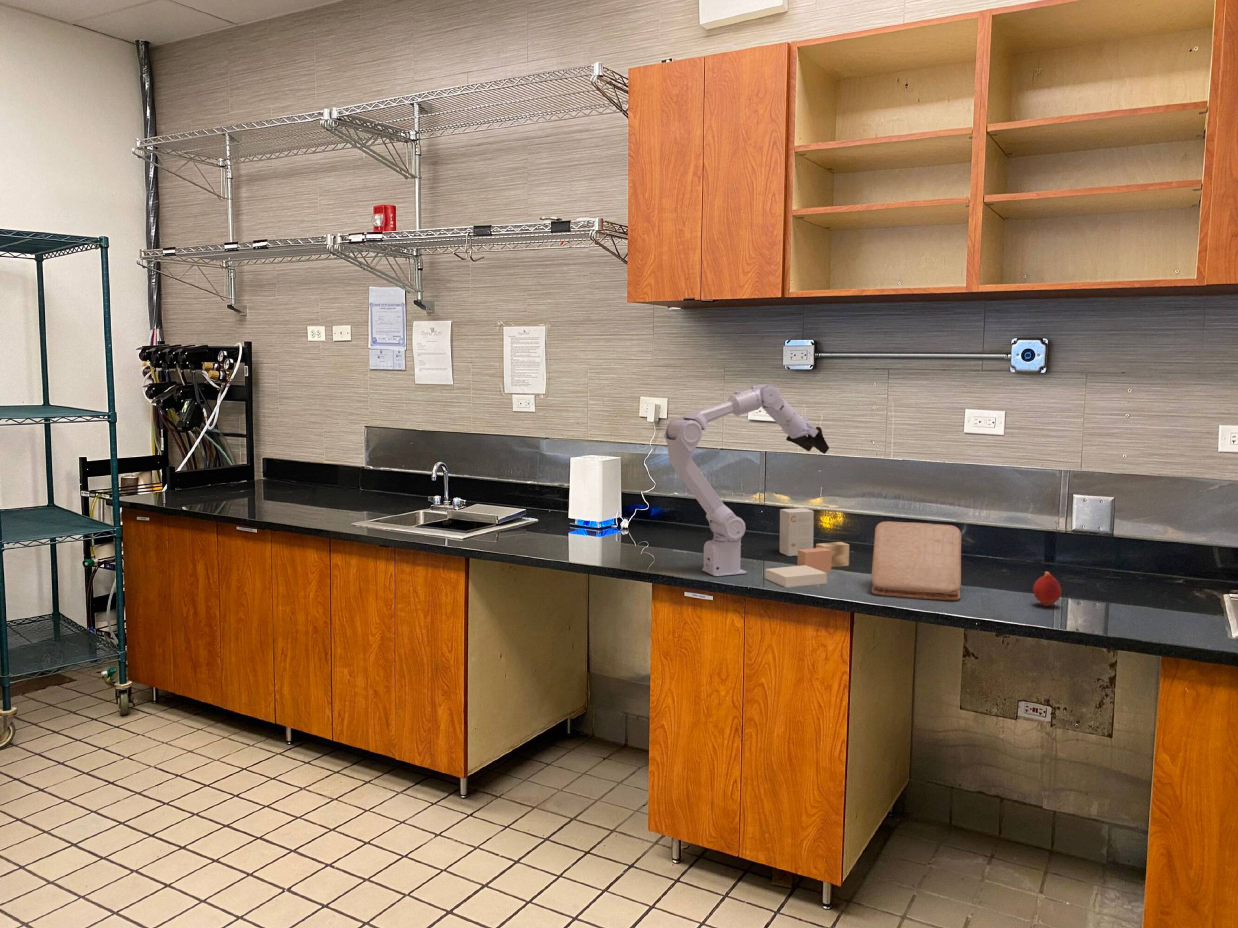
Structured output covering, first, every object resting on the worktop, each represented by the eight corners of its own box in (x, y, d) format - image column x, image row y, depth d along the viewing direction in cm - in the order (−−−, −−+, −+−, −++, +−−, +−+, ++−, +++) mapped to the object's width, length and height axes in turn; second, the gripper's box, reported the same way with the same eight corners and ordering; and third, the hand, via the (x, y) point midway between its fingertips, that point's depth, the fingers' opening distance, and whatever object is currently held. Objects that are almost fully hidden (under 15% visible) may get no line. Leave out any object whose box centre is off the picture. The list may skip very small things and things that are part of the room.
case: (869, 596, 214) (871, 530, 212) (875, 576, 233) (877, 516, 231) (960, 604, 207) (963, 536, 205) (959, 583, 226) (962, 521, 225)
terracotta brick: (805, 574, 235) (805, 552, 235) (797, 571, 239) (797, 549, 238) (831, 572, 238) (831, 550, 238) (822, 569, 242) (823, 547, 241)
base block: (785, 589, 222) (785, 577, 222) (765, 580, 231) (765, 568, 231) (826, 584, 226) (827, 573, 226) (805, 576, 235) (805, 565, 235)
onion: (1052, 602, 206) (1054, 568, 206) (1065, 609, 201) (1067, 574, 200) (1027, 602, 206) (1029, 568, 205) (1040, 609, 201) (1041, 574, 200)
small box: (803, 550, 266) (804, 507, 265) (813, 555, 260) (814, 510, 258) (778, 552, 264) (779, 508, 263) (787, 556, 258) (788, 512, 256)
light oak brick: (823, 568, 243) (824, 546, 243) (815, 565, 247) (816, 543, 246) (848, 565, 246) (849, 544, 245) (840, 562, 250) (840, 541, 249)
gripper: (810, 407, 234) (842, 440, 238) (781, 405, 247) (812, 436, 252) (794, 427, 233) (827, 460, 237) (766, 424, 246) (797, 455, 251)
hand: (818, 449), depth 245 cm, fingers open, 7 cm apart
